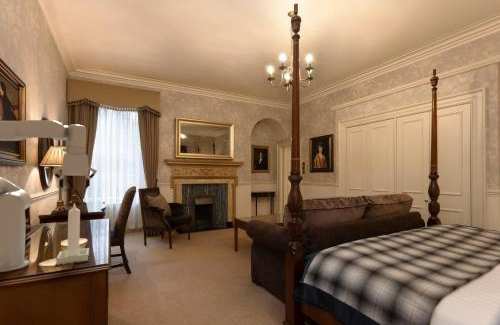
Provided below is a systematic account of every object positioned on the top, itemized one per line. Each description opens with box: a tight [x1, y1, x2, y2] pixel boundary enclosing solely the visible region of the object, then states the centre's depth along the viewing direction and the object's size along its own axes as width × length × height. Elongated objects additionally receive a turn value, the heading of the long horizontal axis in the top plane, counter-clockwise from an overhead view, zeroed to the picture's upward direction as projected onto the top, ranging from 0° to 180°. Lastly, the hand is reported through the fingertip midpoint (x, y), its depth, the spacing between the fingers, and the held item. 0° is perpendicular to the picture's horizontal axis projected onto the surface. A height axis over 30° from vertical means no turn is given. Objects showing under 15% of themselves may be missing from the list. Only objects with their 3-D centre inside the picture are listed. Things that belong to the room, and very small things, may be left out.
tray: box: [55, 247, 90, 266], centre depth 123 cm, size 12×12×3 cm
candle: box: [65, 203, 81, 257], centre depth 123 cm, size 7×7×25 cm
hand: (74, 188), depth 124 cm, fingers open, 9 cm apart
